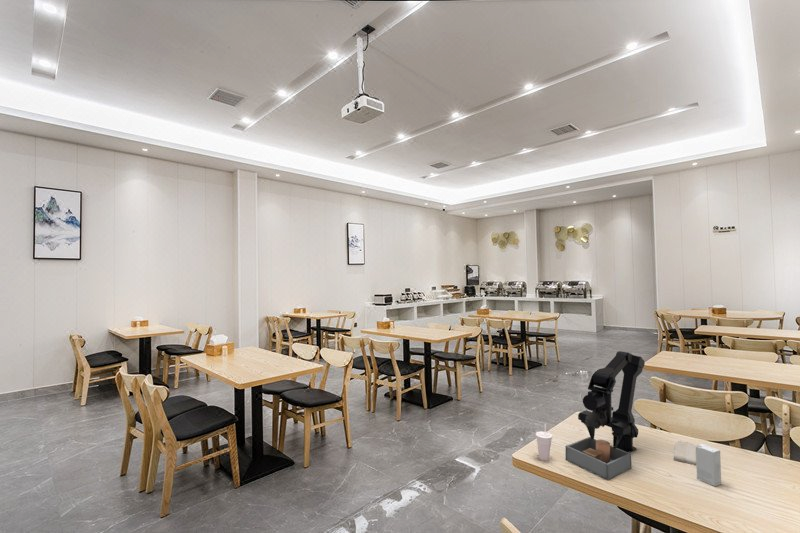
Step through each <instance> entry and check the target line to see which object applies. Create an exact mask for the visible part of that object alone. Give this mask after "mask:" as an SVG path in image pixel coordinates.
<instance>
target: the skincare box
mask: <svg viewBox="0 0 800 533" xmlns="http://www.w3.org/2000/svg"><path fill="white" fill-rule="evenodd" d="M696 445H697V444H696ZM721 464H722V463H721V450H720V449H718V448H715V447H713V446H709V445H706V444H704V443H701V444H698V445H697V446H696V465H695V466H696V479H697V480H699V481H702V482H704V483H706V484H707V485H708V484H709V485H711V486H714V487H718V486H720V485H722V469H721V468H722V467H721ZM719 484H720V485H719ZM717 485H718V486H717Z"/></svg>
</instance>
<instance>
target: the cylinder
mask: <svg viewBox="0 0 800 533" xmlns="http://www.w3.org/2000/svg"><path fill="white" fill-rule="evenodd" d="M610 445H611V443H610V441H608V440H604V439H596V451H598V452H601V453H602V462H605V463H609V462H610Z"/></svg>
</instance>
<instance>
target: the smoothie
mask: <svg viewBox="0 0 800 533" xmlns="http://www.w3.org/2000/svg"><path fill="white" fill-rule="evenodd" d="M535 438H536V444H537V445H536V446H537V450H538V452H537V453H538V458H539V460H541V461H544V462H546V461H547V462H548V461H549V460H550V454H551V447H552V440H553V434H552V433H550V432H548V431H547V423H544V431H536V432H535Z"/></svg>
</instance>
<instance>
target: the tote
mask: <svg viewBox="0 0 800 533" xmlns="http://www.w3.org/2000/svg"><path fill="white" fill-rule="evenodd" d="M596 440H597V439H595V438H594V439H593V440H592V439H591V437H590V436H588V437H586V438H583V439H579V440H577V441H575V442H572V443H569V444H566V445H565V461H567V462H570V463H571V464H573V465H575V466H577V467H580V468H582V469H584V470H586V471H587V472H590V473H591V474H593V475H595V476H598V477H600V478H602V479H604V480H606V481H609V480H611V479H613V478H615V477H616V476H619V475H621V474H623V473H625V472H627V471H629V470H631V469H632V453H631V452H625V451H623V450H620V449H618V448H615V449H614V448H613V445H611V444H610V462H609V463H605V462H602V461H600V460H598V459H596V458H593V457H591V456H589V455H587V454H584V453H582V451H584V450H586V449H589V448H591V449H594V450H596Z"/></svg>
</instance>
